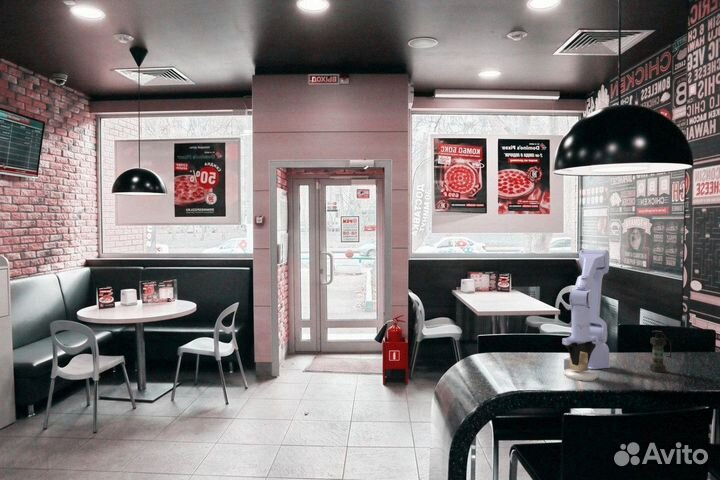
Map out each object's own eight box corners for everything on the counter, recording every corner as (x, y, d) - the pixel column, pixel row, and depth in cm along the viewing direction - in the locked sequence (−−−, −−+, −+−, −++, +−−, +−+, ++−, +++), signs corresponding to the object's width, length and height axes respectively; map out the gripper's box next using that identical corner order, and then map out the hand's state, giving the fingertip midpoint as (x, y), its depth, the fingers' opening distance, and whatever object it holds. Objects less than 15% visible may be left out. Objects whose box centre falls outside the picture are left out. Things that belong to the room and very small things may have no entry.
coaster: (580, 371, 171) (580, 367, 171) (603, 379, 162) (603, 375, 162) (558, 374, 168) (558, 369, 168) (579, 382, 158) (579, 377, 158)
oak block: (578, 368, 168) (578, 350, 168) (587, 370, 164) (587, 353, 164) (569, 369, 166) (569, 351, 166) (579, 371, 163) (579, 354, 163)
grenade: (669, 370, 174) (670, 329, 174) (672, 374, 169) (673, 332, 169) (649, 368, 177) (649, 328, 177) (651, 372, 172) (651, 330, 172)
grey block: (569, 368, 176) (569, 357, 176) (580, 370, 173) (580, 359, 173) (564, 370, 174) (564, 359, 174) (574, 372, 171) (574, 361, 171)
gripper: (586, 321, 171) (586, 359, 171) (555, 324, 166) (555, 363, 166) (603, 325, 165) (602, 364, 165) (571, 327, 159) (571, 368, 159)
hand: (580, 364), depth 165 cm, fingers closed on oak block, 4 cm apart
